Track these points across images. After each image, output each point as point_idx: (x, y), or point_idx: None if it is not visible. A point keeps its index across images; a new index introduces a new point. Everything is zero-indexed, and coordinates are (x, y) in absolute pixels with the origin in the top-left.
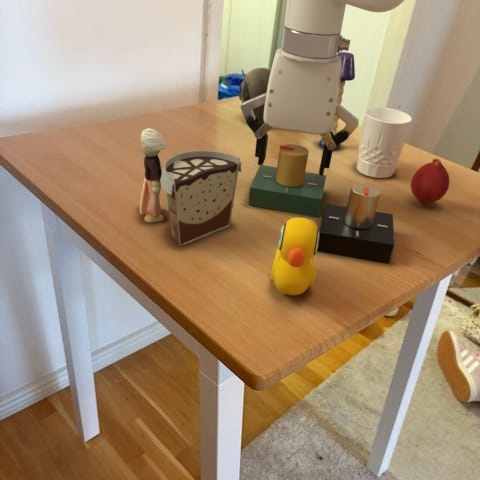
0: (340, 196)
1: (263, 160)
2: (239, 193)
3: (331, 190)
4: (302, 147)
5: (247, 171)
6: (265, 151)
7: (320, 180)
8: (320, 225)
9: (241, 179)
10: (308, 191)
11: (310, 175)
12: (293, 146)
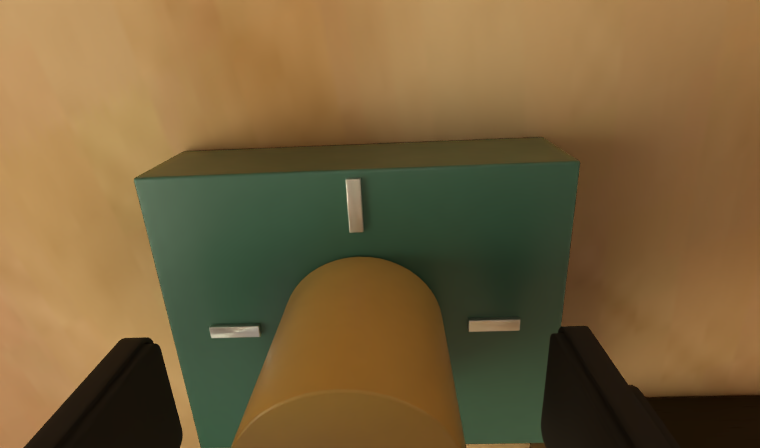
0: (640, 146)
1: (169, 432)
2: (155, 303)
3: (593, 89)
4: (408, 425)
5: (72, 34)
6: (135, 425)
7: (540, 253)
8: (532, 446)
9: (94, 158)
10: (478, 399)
11: (475, 208)
12: (326, 435)
